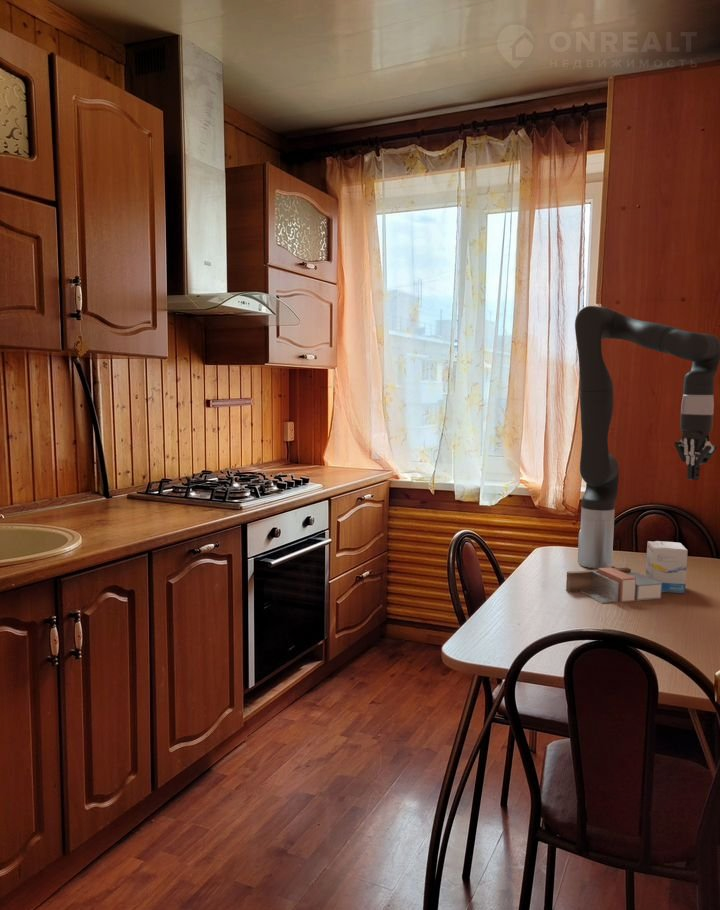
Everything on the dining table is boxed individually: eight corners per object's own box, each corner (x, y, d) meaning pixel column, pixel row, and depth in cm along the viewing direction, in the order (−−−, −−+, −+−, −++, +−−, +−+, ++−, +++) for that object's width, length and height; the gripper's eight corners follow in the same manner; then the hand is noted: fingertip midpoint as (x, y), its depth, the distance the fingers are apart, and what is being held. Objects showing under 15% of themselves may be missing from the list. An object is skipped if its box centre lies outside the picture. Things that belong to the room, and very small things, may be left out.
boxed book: (597, 590, 182) (598, 568, 181) (610, 589, 183) (611, 567, 182) (620, 602, 172) (622, 579, 172) (634, 601, 173) (636, 578, 173)
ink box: (686, 593, 180) (688, 549, 178) (651, 591, 181) (653, 547, 180) (677, 584, 188) (680, 541, 187) (644, 582, 190) (646, 539, 188)
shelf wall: (566, 590, 181) (566, 571, 181) (626, 585, 186) (627, 567, 185) (569, 592, 180) (570, 573, 179) (629, 587, 184) (630, 569, 184)
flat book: (612, 588, 183) (613, 574, 183) (635, 587, 185) (636, 572, 184) (637, 600, 173) (637, 584, 173) (661, 598, 175) (662, 583, 175)
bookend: (579, 591, 181) (580, 572, 180) (594, 590, 182) (594, 571, 181) (602, 603, 171) (603, 583, 170) (617, 602, 172) (618, 582, 171)
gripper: (728, 413, 174) (724, 482, 175) (690, 411, 186) (687, 475, 188) (703, 414, 172) (699, 483, 173) (666, 411, 184) (663, 476, 186)
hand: (692, 479), depth 181 cm, fingers closed
